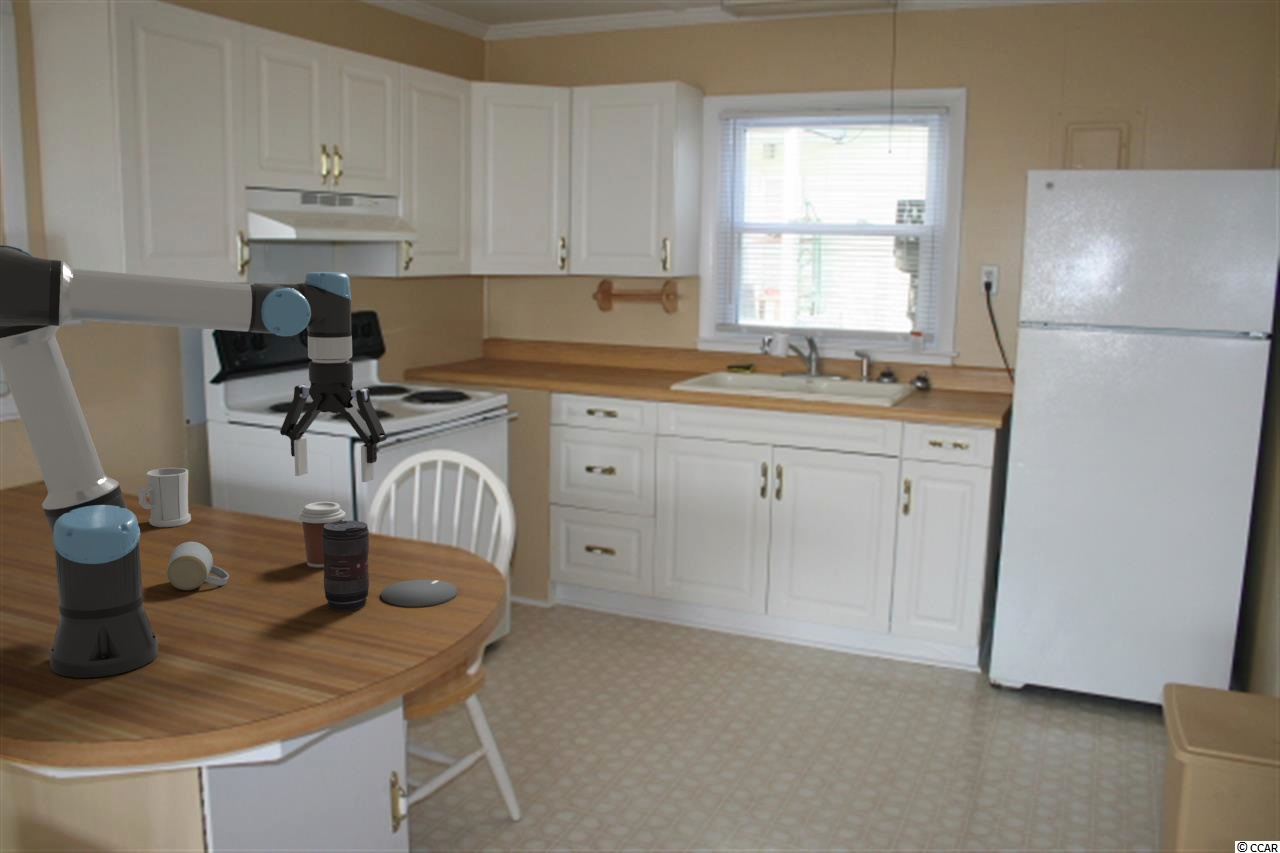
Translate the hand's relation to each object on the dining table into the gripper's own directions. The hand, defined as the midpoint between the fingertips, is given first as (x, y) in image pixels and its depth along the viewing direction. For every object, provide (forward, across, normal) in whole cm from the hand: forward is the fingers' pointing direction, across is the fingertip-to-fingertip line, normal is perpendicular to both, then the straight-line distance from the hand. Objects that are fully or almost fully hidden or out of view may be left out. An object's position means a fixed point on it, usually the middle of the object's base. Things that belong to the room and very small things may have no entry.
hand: (334, 477), depth 195 cm
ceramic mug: (+23, +30, +1) cm, 38 cm away
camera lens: (+23, -3, +1) cm, 24 cm away
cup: (+23, +65, -33) cm, 76 cm away
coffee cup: (+23, +16, -19) cm, 34 cm away
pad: (+23, -12, -8) cm, 27 cm away
